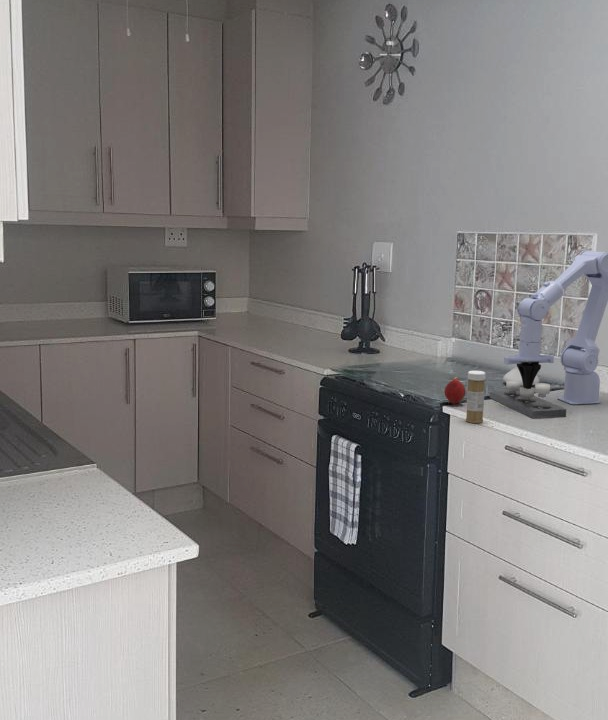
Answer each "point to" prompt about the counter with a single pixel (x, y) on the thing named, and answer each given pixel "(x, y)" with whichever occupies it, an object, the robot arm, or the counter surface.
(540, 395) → the knob
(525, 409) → the panel
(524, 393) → the knob mid
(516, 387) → the knob
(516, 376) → the flower in vase
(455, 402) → the onion
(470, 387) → the sprinkles bottle
